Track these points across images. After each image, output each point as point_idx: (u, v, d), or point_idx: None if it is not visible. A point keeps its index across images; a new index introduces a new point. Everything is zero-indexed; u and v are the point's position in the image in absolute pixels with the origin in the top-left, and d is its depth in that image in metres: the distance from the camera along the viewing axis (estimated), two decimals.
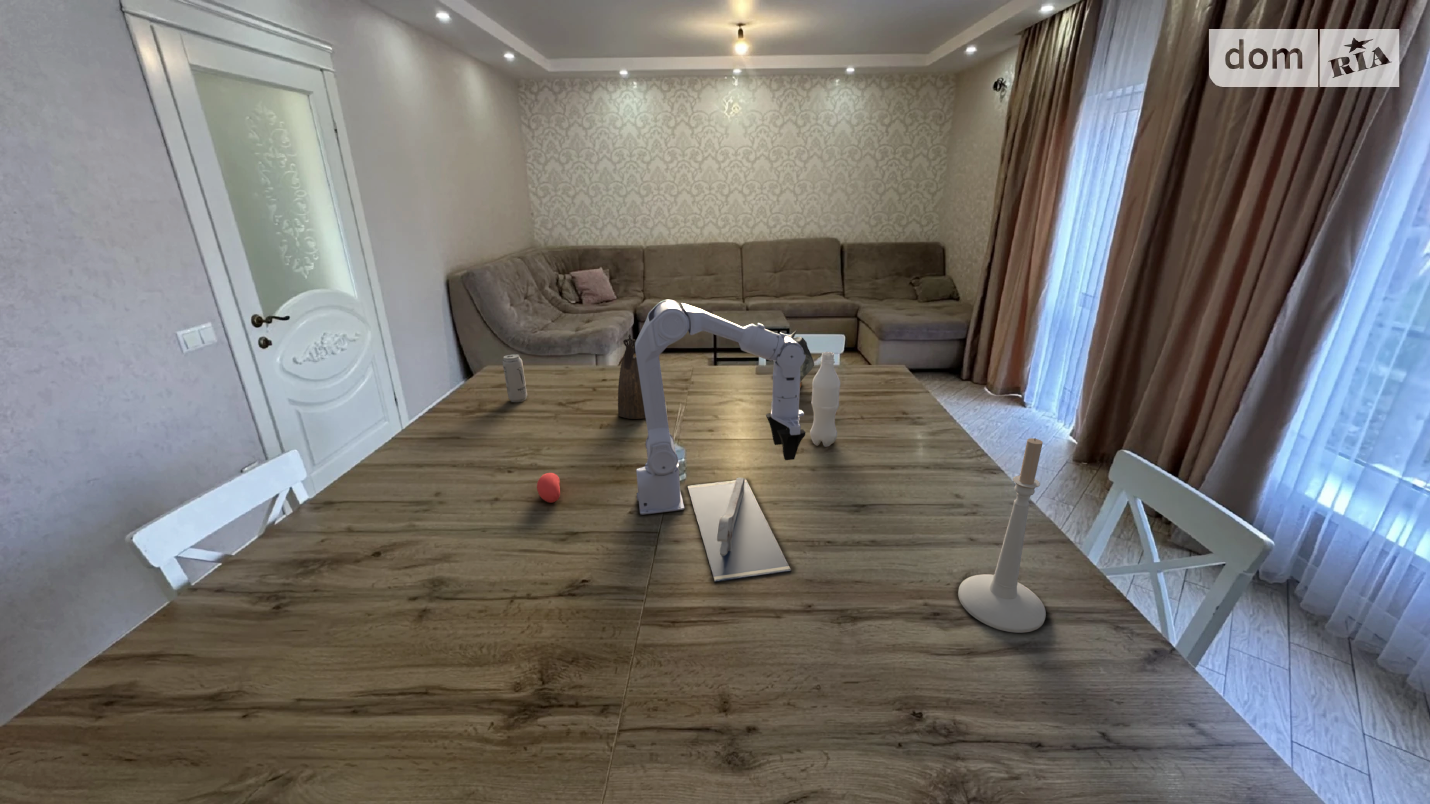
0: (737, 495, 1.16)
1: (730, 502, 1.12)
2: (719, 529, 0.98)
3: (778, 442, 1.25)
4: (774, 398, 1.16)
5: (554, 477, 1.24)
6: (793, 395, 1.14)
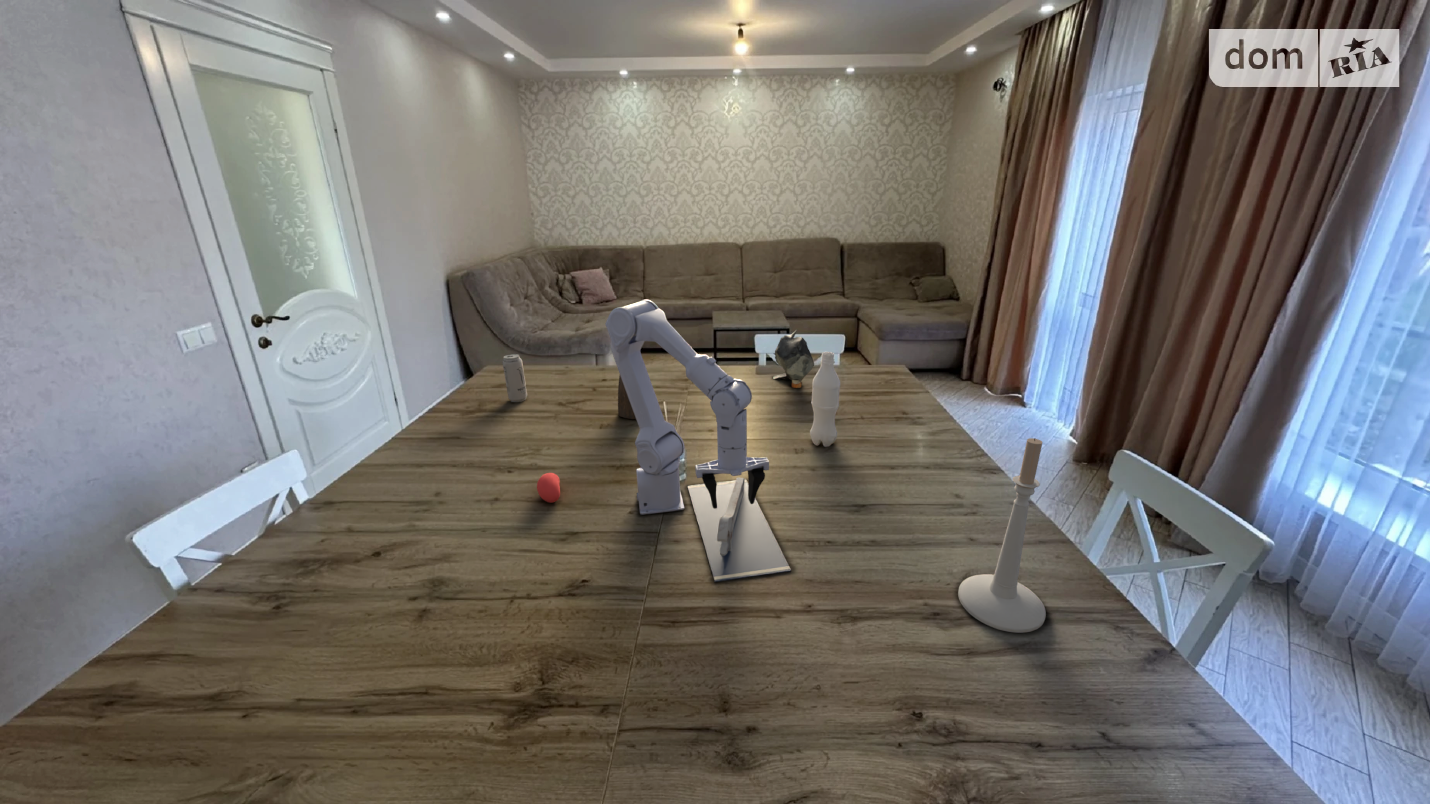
0: (737, 495, 1.16)
1: (730, 502, 1.12)
2: (719, 529, 0.98)
3: (749, 498, 1.12)
4: None
5: (554, 477, 1.24)
6: (729, 446, 1.04)
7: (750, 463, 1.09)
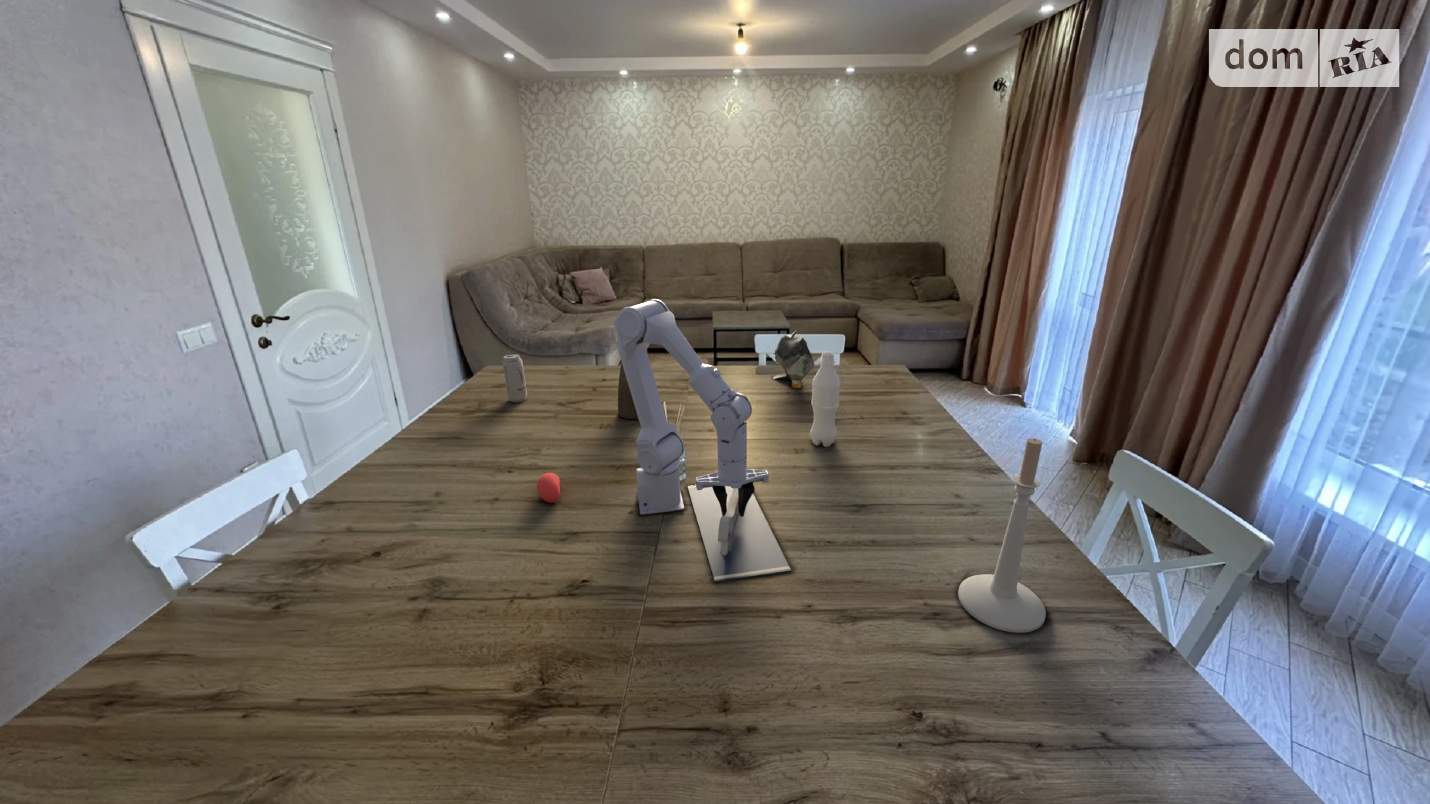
0: (737, 495, 1.16)
1: (730, 502, 1.12)
2: (720, 529, 0.98)
3: (739, 511, 1.13)
4: None
5: (554, 477, 1.24)
6: (729, 459, 1.05)
7: (750, 475, 1.10)
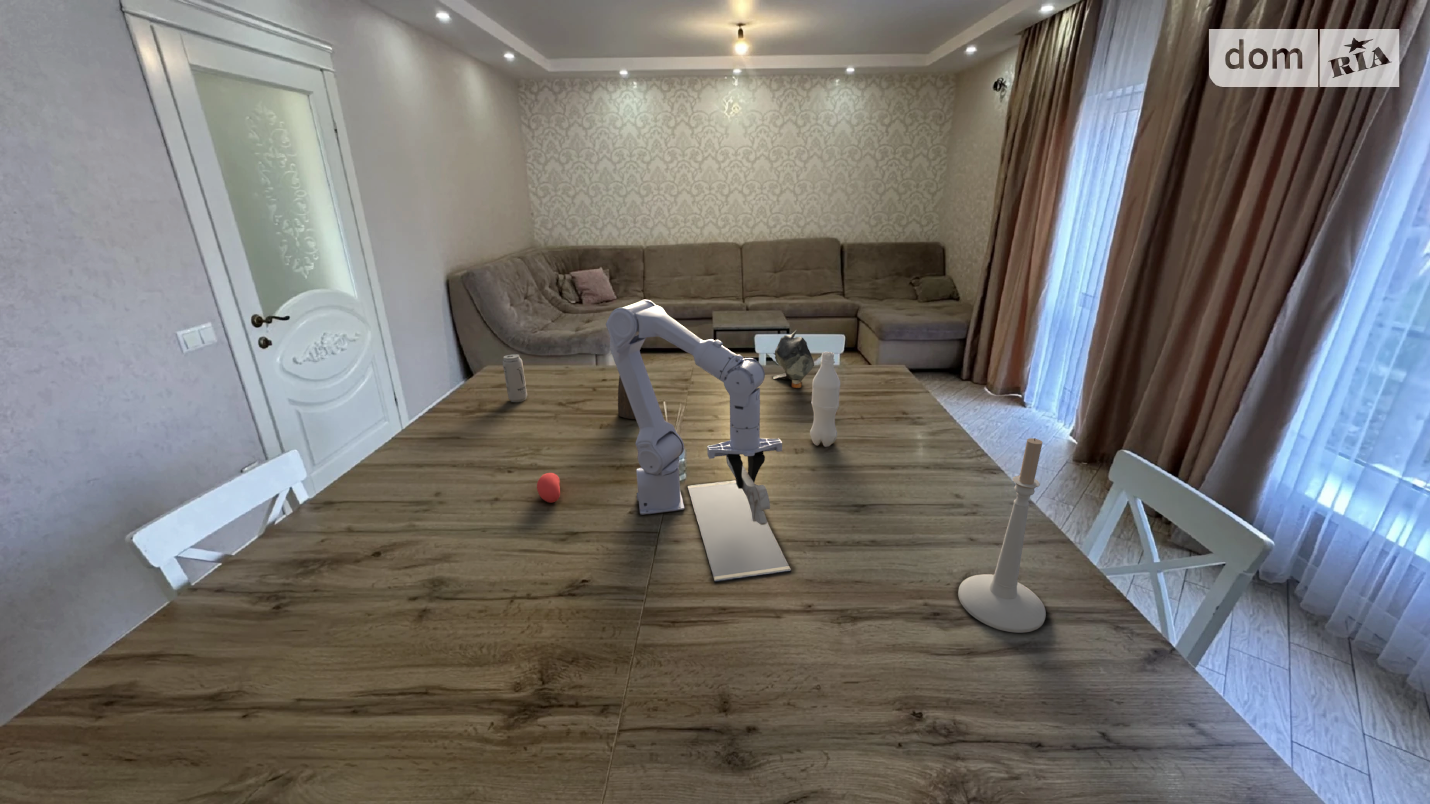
0: (742, 467, 1.13)
1: None
2: (761, 497, 0.95)
3: None
4: None
5: (554, 477, 1.24)
6: (743, 426, 1.02)
7: (763, 444, 1.07)
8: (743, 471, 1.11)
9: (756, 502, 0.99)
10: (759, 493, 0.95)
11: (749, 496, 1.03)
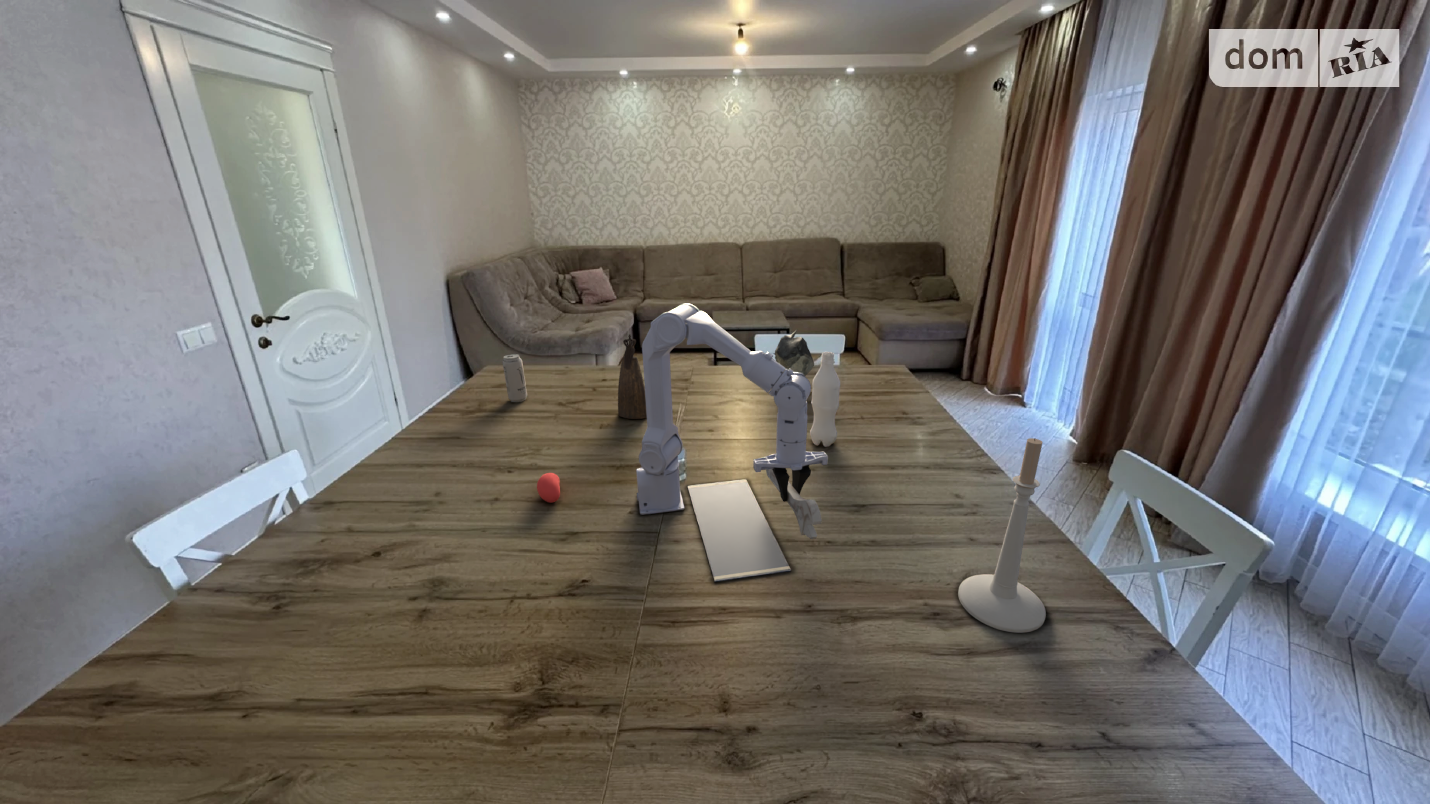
0: None
1: None
2: (812, 512, 0.95)
3: None
4: None
5: (554, 477, 1.24)
6: (792, 440, 1.02)
7: (808, 457, 1.07)
8: None
9: (806, 516, 0.99)
10: (810, 508, 0.96)
11: (797, 510, 1.03)
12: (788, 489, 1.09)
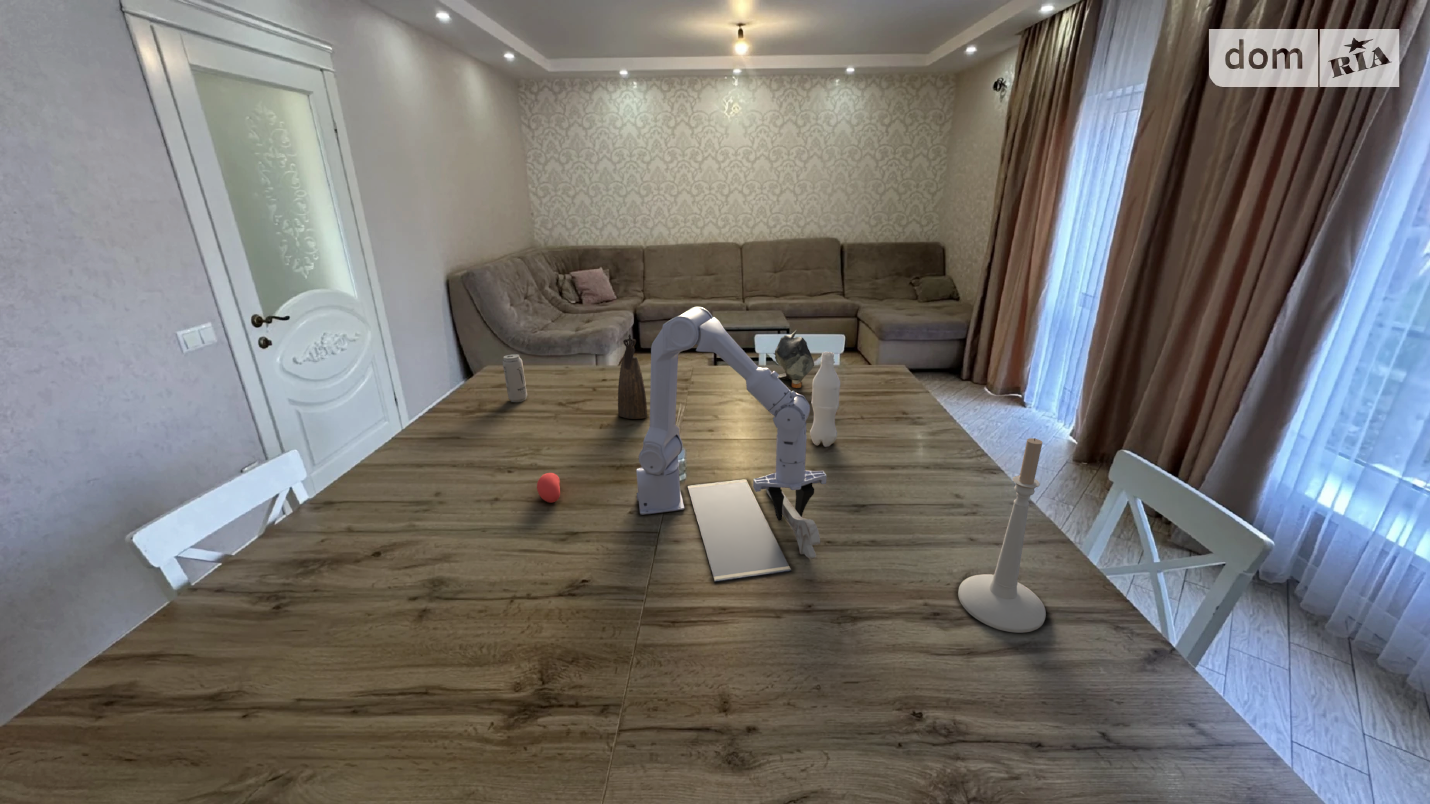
0: (785, 498, 1.15)
1: (786, 505, 1.11)
2: (811, 533, 0.97)
3: None
4: None
5: (554, 477, 1.24)
6: (792, 461, 1.04)
7: (808, 476, 1.09)
8: (786, 502, 1.13)
9: (804, 536, 1.01)
10: (809, 528, 0.97)
11: (796, 529, 1.05)
12: (787, 508, 1.10)
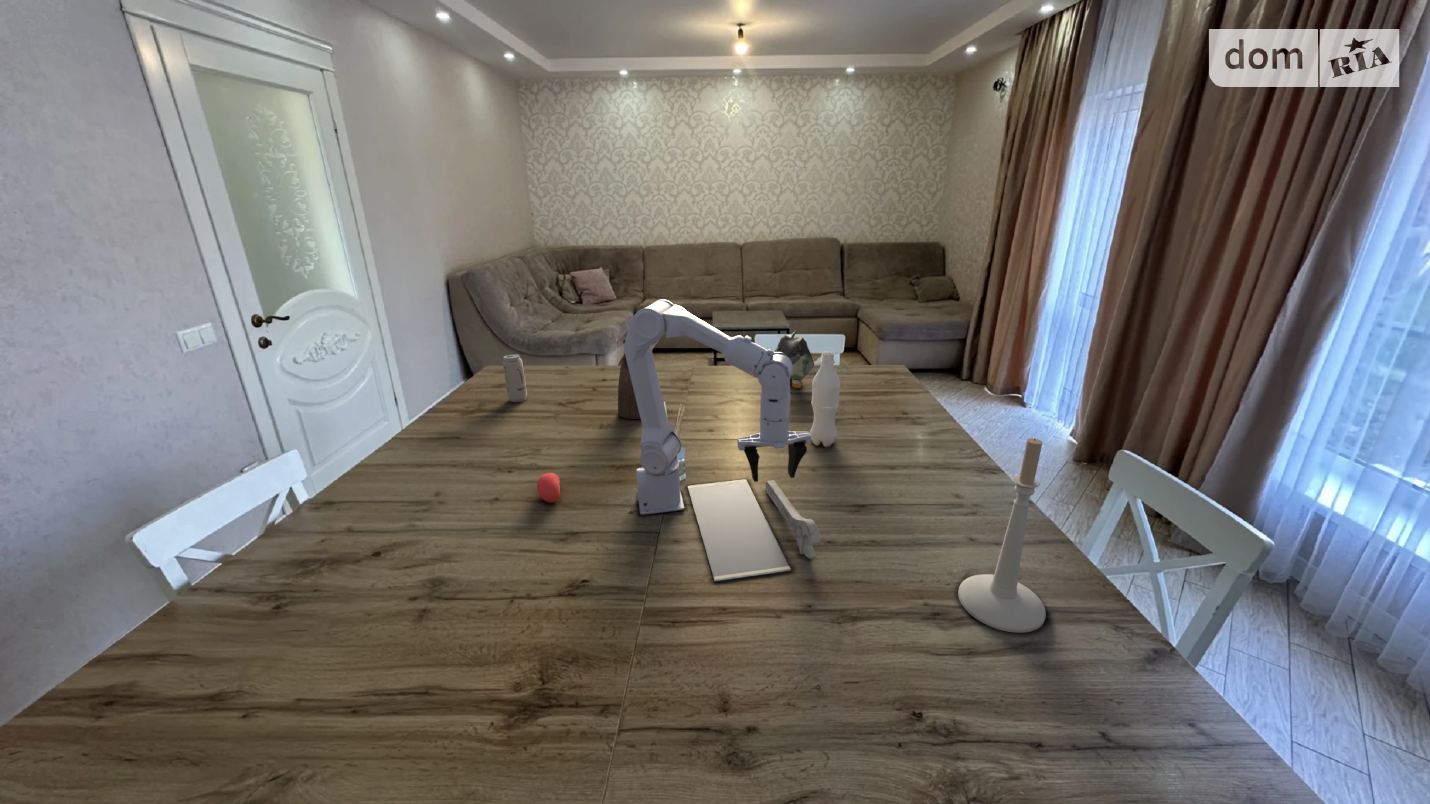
0: (785, 497, 1.15)
1: (786, 505, 1.11)
2: (811, 533, 0.97)
3: (789, 472, 1.13)
4: None
5: (554, 477, 1.24)
6: (777, 419, 1.04)
7: (792, 436, 1.09)
8: (786, 502, 1.13)
9: (804, 536, 1.01)
10: (809, 528, 0.97)
11: (796, 529, 1.05)
12: (787, 508, 1.10)
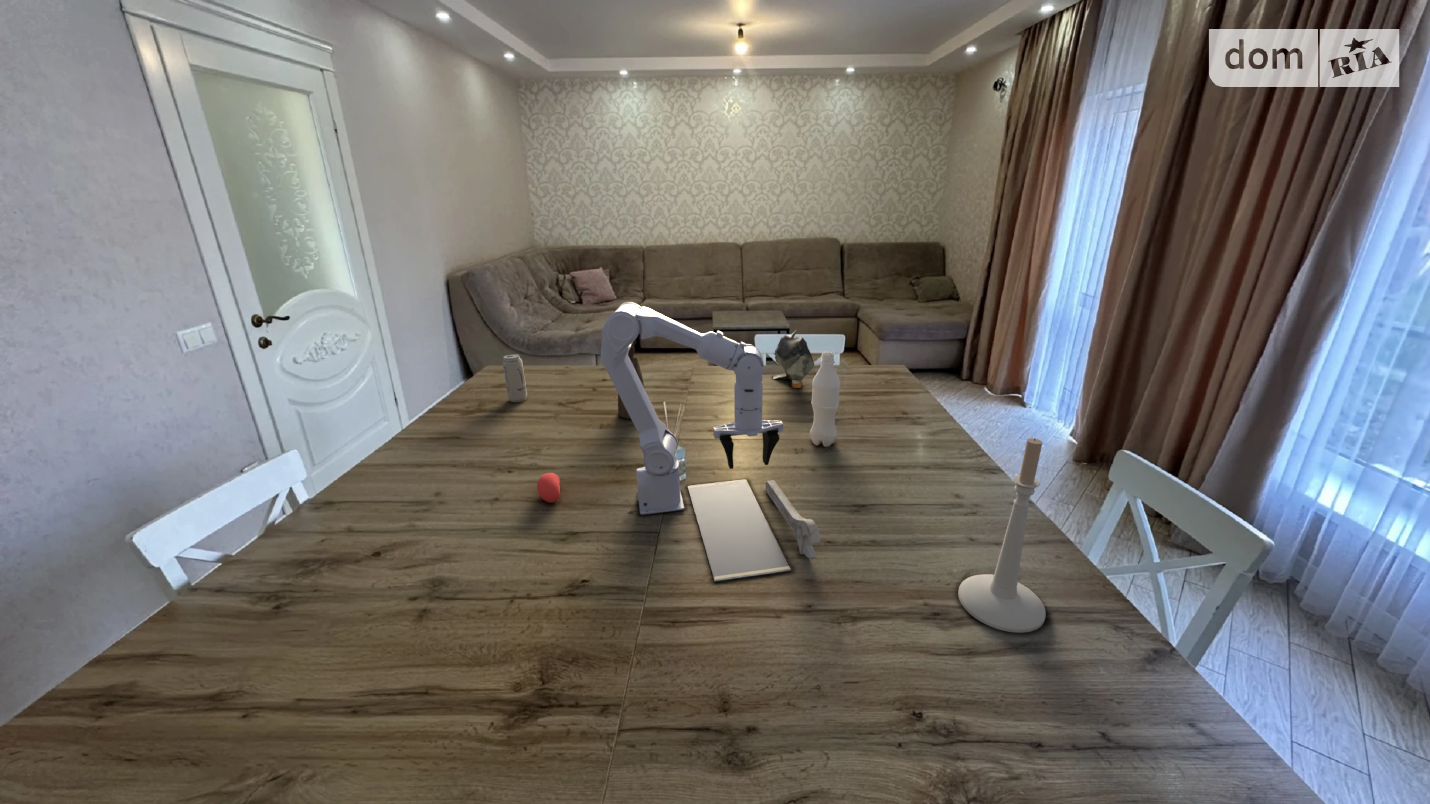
0: (785, 498, 1.15)
1: (786, 505, 1.11)
2: (811, 533, 0.97)
3: (763, 460, 1.18)
4: None
5: (554, 477, 1.24)
6: (752, 407, 1.09)
7: (765, 425, 1.14)
8: (786, 502, 1.13)
9: (804, 536, 1.01)
10: (809, 528, 0.97)
11: (796, 529, 1.05)
12: (787, 508, 1.10)
